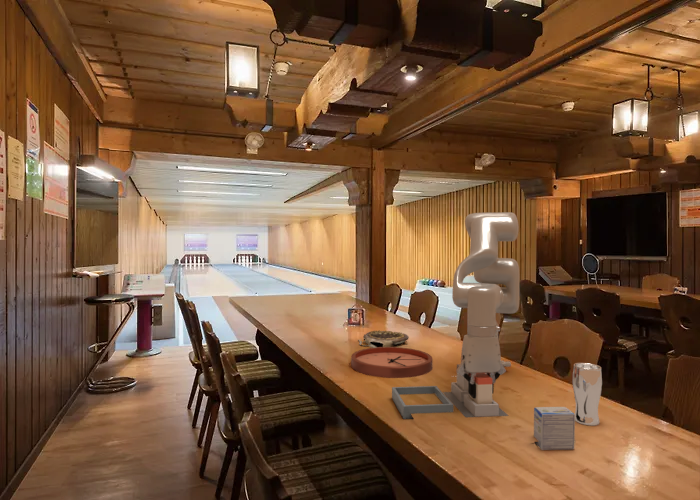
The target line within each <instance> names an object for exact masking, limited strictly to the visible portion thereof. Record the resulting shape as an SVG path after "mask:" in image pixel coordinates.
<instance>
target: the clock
mask: <svg viewBox="0 0 700 500" xmlns="http://www.w3.org/2000/svg"><path fill="white" fill-rule="evenodd" d="M350 360H351V361H350V363H351V366H350V367H351V368H352V370H354V371H356V372H357V373H360V374H363V375H366V376H371V377H377V378H385V379H386V378H387V379H406V378H415V377H419V376H423V375H426V374H429V373H430V372H432V370H433V356H432V355H431V354H430V353H427V352H426V351H422V350H418V349H415V348H407V347H399V346H394V347H383V346H379V347H378V346H377V347H375V348H372V347H368V348H364V349H360V350H357V351H354V352H353V353H352V354H351V358H350Z"/></svg>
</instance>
